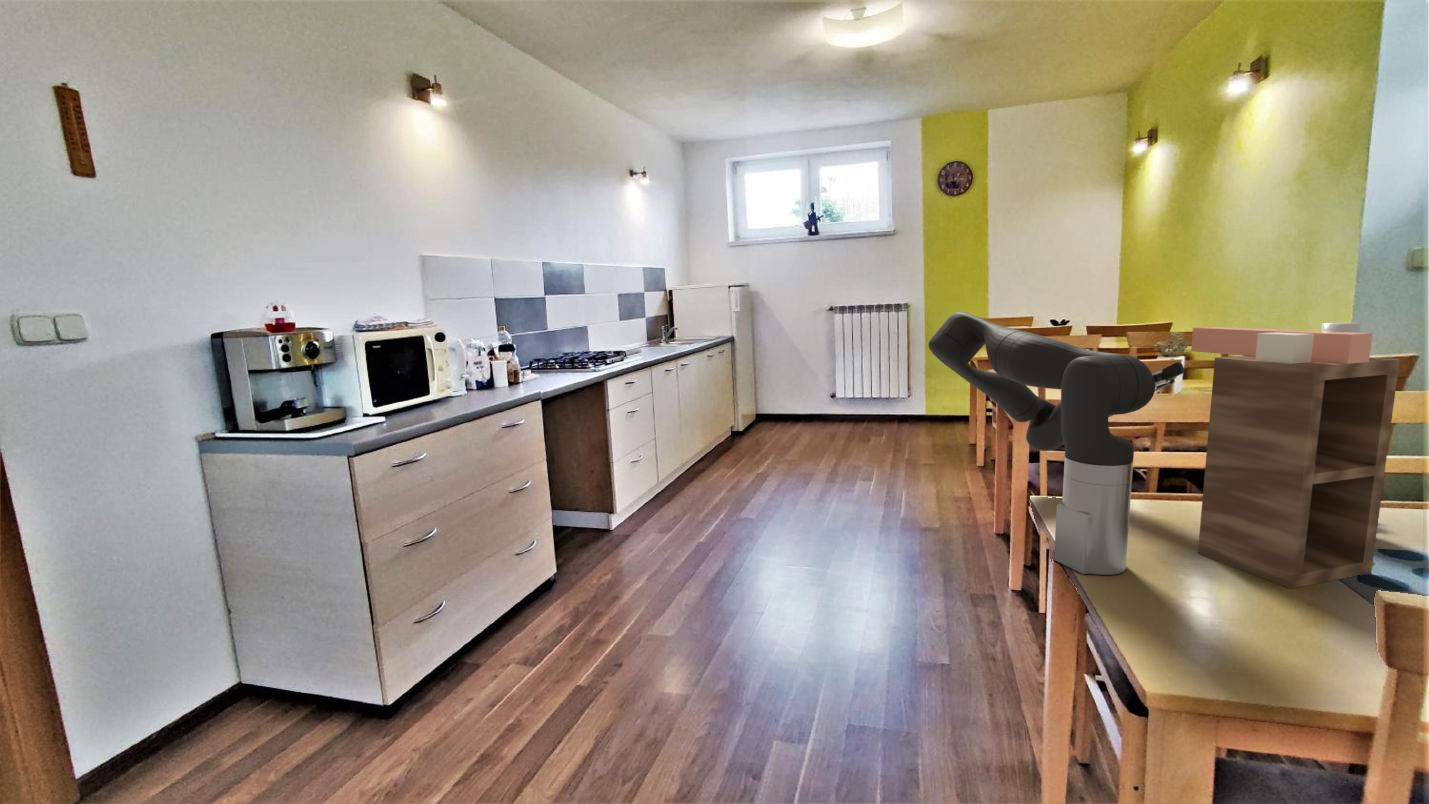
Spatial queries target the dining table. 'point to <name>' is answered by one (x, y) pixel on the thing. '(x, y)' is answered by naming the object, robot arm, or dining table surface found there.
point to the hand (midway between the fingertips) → (1163, 368)
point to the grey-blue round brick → (1341, 327)
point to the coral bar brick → (1245, 339)
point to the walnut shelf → (1296, 467)
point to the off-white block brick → (1284, 347)
